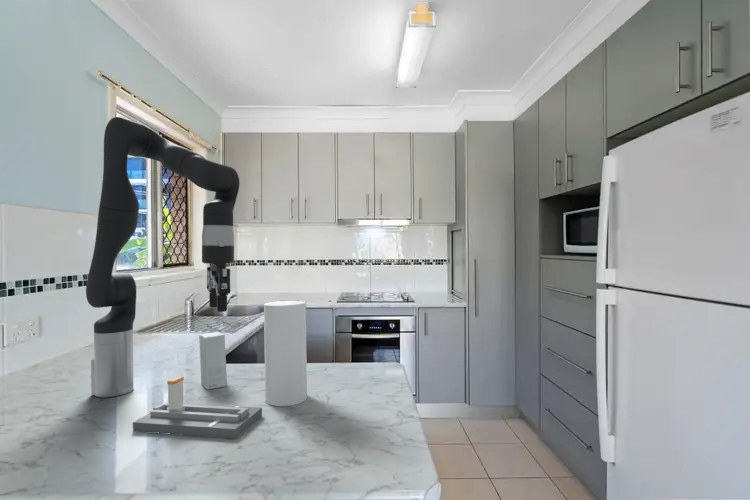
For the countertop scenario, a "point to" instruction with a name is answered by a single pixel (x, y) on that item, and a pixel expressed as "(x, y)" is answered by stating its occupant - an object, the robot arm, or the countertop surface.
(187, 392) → the countertop surface
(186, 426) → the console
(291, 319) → the tall pillar cylinder
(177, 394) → the fader tab
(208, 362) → the skincare box
